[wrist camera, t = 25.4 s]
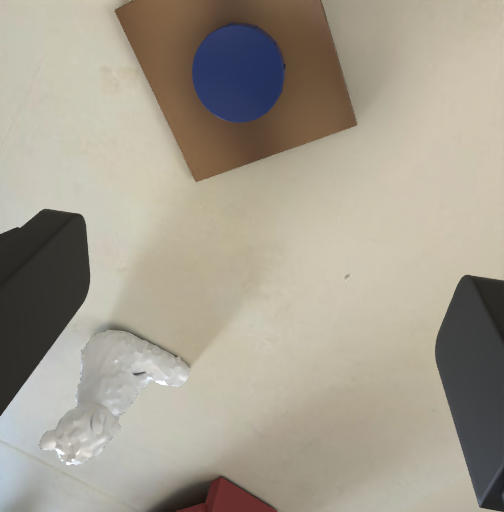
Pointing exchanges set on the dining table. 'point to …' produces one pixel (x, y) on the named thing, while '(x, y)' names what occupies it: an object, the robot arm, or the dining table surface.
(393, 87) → the dining table surface
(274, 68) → the jar lid
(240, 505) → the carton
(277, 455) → the dining table surface
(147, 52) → the cork coaster
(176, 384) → the white creature statuette
